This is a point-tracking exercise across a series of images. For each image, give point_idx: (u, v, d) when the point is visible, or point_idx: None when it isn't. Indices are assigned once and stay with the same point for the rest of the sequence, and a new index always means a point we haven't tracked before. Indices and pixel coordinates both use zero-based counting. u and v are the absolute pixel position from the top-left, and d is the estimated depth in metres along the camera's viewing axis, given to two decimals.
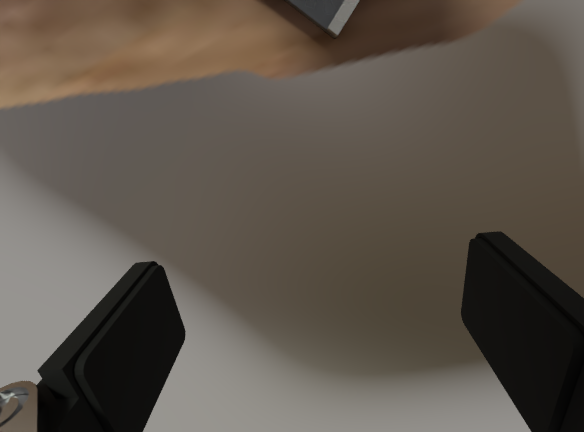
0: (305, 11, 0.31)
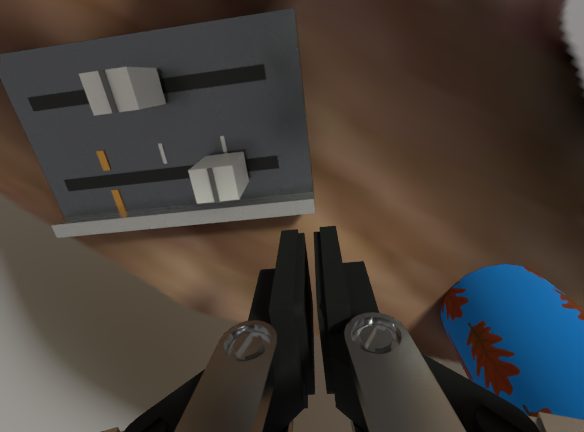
0: (52, 188, 0.27)
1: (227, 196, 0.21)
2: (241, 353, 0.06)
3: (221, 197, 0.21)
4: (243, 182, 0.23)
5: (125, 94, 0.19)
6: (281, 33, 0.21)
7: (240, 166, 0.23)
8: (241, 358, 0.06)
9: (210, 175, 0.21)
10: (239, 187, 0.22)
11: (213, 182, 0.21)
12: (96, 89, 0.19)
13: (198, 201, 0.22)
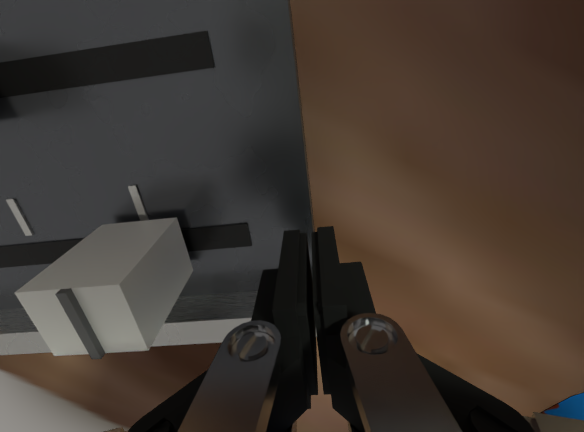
0: None
1: (120, 345, 0.09)
2: (245, 353, 0.06)
3: (106, 345, 0.09)
4: (171, 289, 0.11)
5: None
6: None
7: (161, 260, 0.10)
8: (245, 358, 0.06)
9: (67, 307, 0.08)
10: (152, 316, 0.10)
11: (78, 321, 0.09)
12: None
13: (56, 352, 0.09)
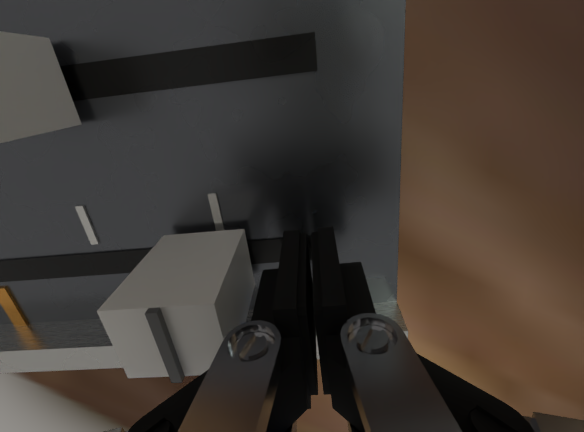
0: None
1: (203, 367, 0.08)
2: (245, 353, 0.06)
3: (187, 367, 0.09)
4: (243, 306, 0.10)
5: None
6: None
7: (237, 275, 0.10)
8: (245, 358, 0.06)
9: (155, 327, 0.08)
10: None
11: (164, 342, 0.08)
12: None
13: (131, 374, 0.09)
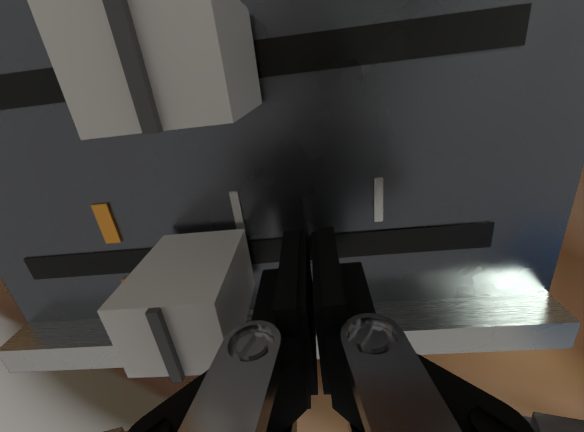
0: (0, 272, 0.13)
1: (203, 367, 0.08)
2: (245, 353, 0.06)
3: (187, 368, 0.09)
4: (243, 306, 0.10)
5: (189, 70, 0.05)
6: None
7: (237, 275, 0.10)
8: (245, 358, 0.06)
9: (155, 327, 0.08)
10: None
11: (164, 342, 0.08)
12: (89, 51, 0.05)
13: (131, 374, 0.09)
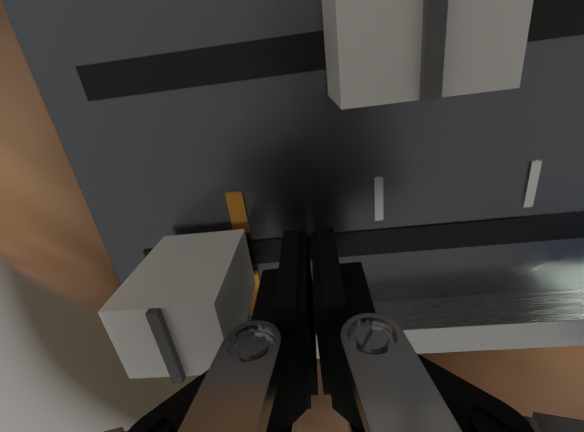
0: (115, 265, 0.13)
1: (203, 367, 0.08)
2: (245, 353, 0.06)
3: (187, 368, 0.09)
4: (244, 306, 0.10)
5: (490, 28, 0.05)
6: None
7: (237, 275, 0.10)
8: (245, 358, 0.06)
9: (156, 328, 0.08)
10: None
11: (165, 343, 0.08)
12: (384, 8, 0.05)
13: (132, 374, 0.09)
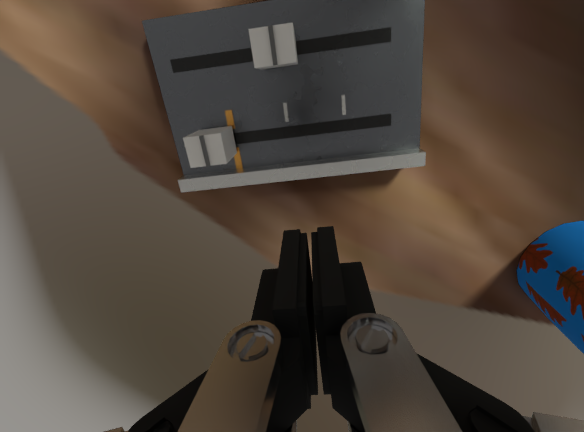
0: (177, 146, 0.29)
1: (216, 161, 0.25)
2: (245, 353, 0.06)
3: (211, 161, 0.25)
4: (231, 151, 0.27)
5: (286, 48, 0.22)
6: None
7: (228, 137, 0.26)
8: (245, 358, 0.06)
9: (202, 141, 0.24)
10: (227, 154, 0.25)
11: (204, 148, 0.24)
12: (261, 43, 0.21)
13: (191, 165, 0.25)
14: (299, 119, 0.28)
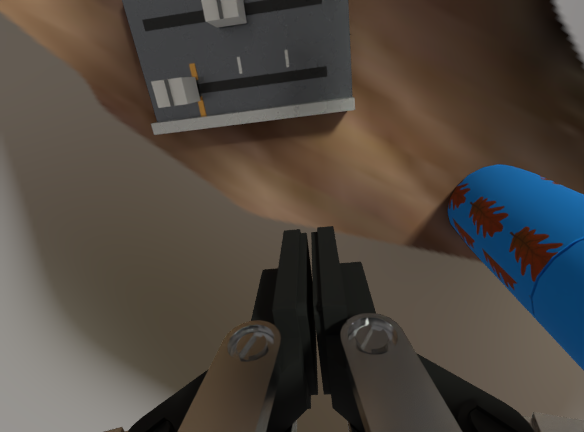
0: (150, 96, 0.35)
1: (179, 101, 0.30)
2: (245, 353, 0.06)
3: (175, 102, 0.31)
4: (193, 96, 0.32)
5: (229, 4, 0.27)
6: None
7: (190, 84, 0.32)
8: (245, 358, 0.06)
9: (166, 84, 0.30)
10: (188, 96, 0.31)
11: (168, 90, 0.30)
12: (210, 0, 0.27)
13: (159, 106, 0.31)
14: (251, 71, 0.33)
